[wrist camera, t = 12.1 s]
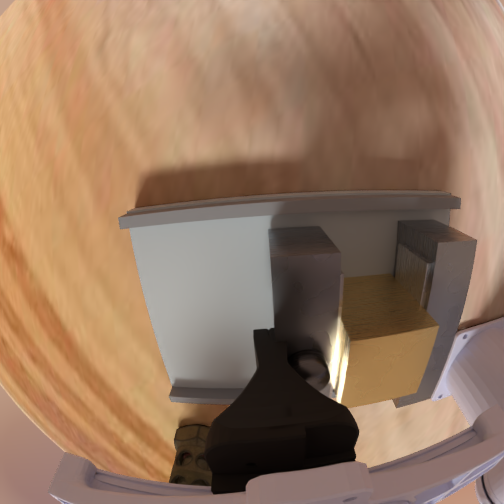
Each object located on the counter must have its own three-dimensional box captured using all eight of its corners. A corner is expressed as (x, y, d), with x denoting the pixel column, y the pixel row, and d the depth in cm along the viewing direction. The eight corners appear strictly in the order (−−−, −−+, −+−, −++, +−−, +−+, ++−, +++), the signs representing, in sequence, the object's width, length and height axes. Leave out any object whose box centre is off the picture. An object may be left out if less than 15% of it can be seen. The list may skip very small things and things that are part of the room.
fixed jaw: (433, 219, 13) (477, 239, 9) (408, 360, 16) (430, 398, 13) (393, 220, 13) (433, 243, 10) (373, 367, 16) (392, 409, 13)
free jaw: (324, 225, 13) (356, 262, 9) (318, 378, 16) (331, 439, 12) (267, 228, 13) (271, 268, 9) (276, 382, 17) (279, 444, 12)
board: (441, 190, 14) (461, 196, 12) (412, 363, 18) (422, 380, 16) (134, 208, 15) (117, 215, 13) (178, 383, 19) (171, 402, 17)
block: (390, 273, 14) (439, 325, 9) (381, 332, 16) (416, 392, 10) (322, 279, 14) (350, 341, 9) (320, 340, 16) (338, 409, 11)
